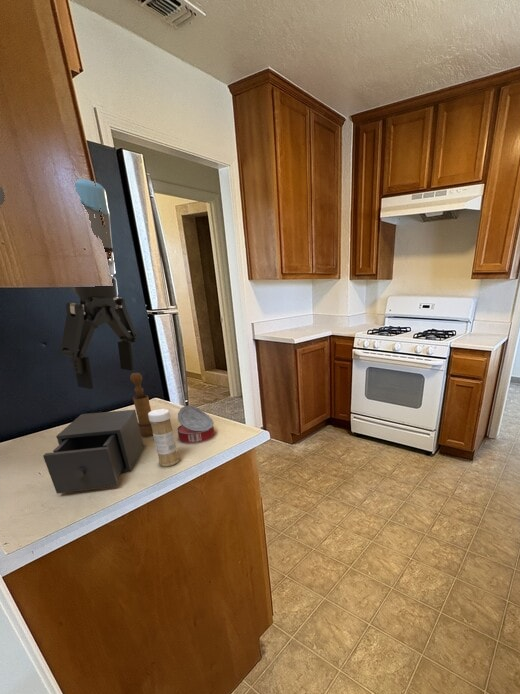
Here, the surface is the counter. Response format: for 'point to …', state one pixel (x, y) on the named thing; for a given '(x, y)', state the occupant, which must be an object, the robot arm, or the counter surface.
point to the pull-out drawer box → (85, 463)
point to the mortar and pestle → (141, 406)
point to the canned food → (194, 425)
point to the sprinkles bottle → (163, 437)
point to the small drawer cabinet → (109, 431)
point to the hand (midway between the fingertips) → (108, 377)
